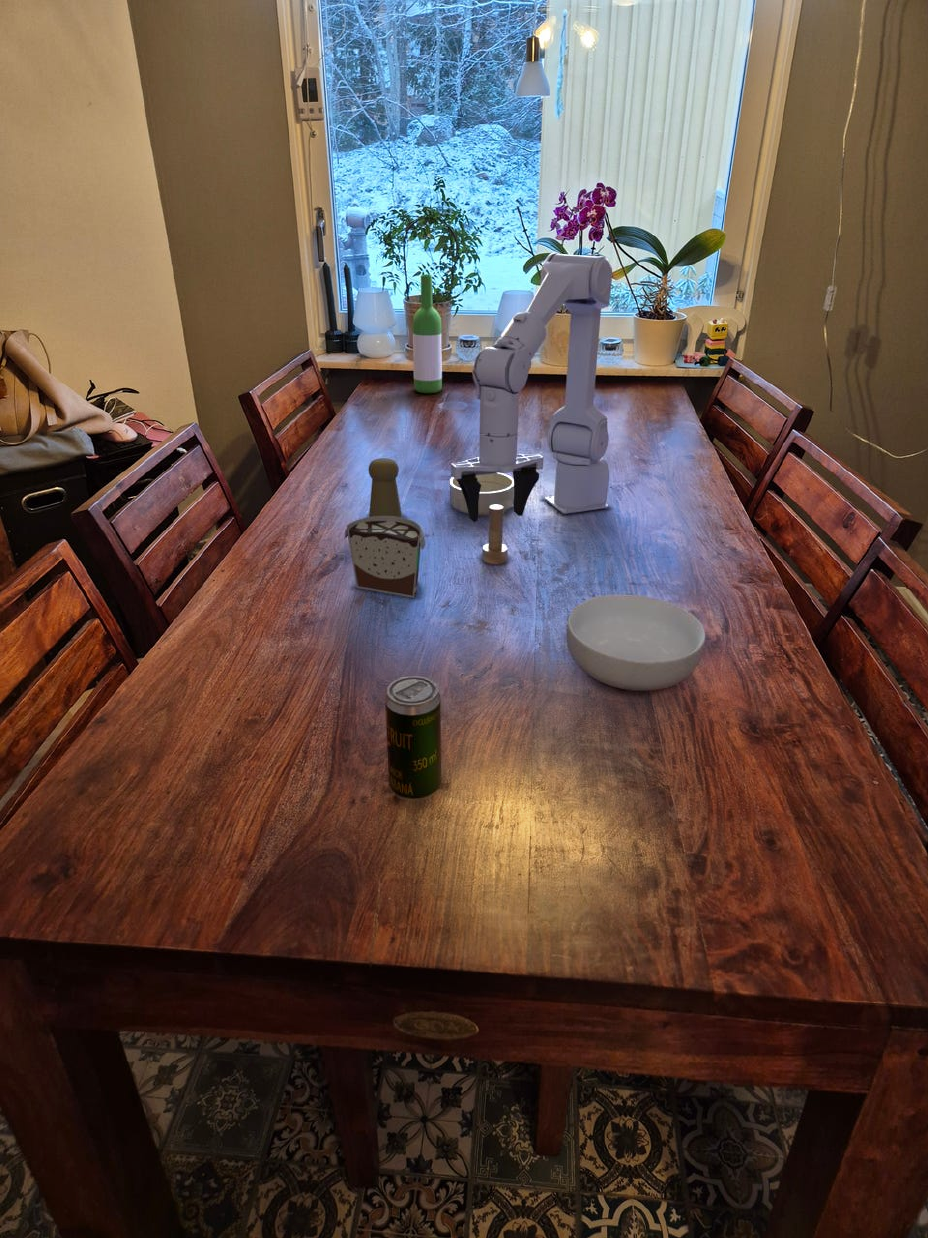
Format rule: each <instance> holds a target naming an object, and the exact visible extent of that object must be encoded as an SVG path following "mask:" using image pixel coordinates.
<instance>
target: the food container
mask: <svg viewBox="0 0 928 1238" xmlns="http://www.w3.org/2000/svg"><path fill="white" fill-rule="evenodd" d="M347 538H348V545H349V551H350V557H351V562H352V569H353V575H354V581H355V586H356V589H362V590H367V591H374V592H378V593H383V594H384V593H385V594H389V595H390V594H391V595H396V596H402V597H408V598H413V599H414V598H415V597H416V596H417V593H418V582H419V572H420V571H419V569H420V561H421V559H420V558H421V551H423V550H424V549H425V547H426V538H425V534H424V531H423V529H422V527H421V526H420V525H419V523H418V522H416V521H414V520H412V519H410V518H405V517H403V516H402V517H396V516H373V517H369V516H367V517H363V518H359V519H356V520H353V521H352V522H349V523H347V524H346V528H345V530H344V539H347Z"/></svg>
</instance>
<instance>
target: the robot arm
mask: <svg viewBox="0 0 928 1238" xmlns="http://www.w3.org/2000/svg"><path fill="white" fill-rule="evenodd" d="M612 282H613V267H612V266H611V264H610V261H609V260H608V258H607V257H606V256H605V255H599V256H591V255H577V254H564V253H563V254H562V253H558V252H551V253H549V254H548V256H547V257H546V258H545V260H544V262H543V264H542V266H541V270H540V286H539V288H538V289H537V291H536V292H535V294H534V296H533V298H532V300H531V302H530V303H529V305H528V307H527V309H526V311H521V312H520V311H519V312H517V313H515V314H514V315H513V317H512V318H511V320H510V321H508V324H507V325H506V327H504V329H503V331H502V332H501V334H500V335H499V336H498V338H497V339H496V341H495V342H494V344H493V345H492V346H488V347H485V348H484V349H482V350H479V352H478V353H477V355H476V356H475V357H476V358H475V360H474V363H473V369H472V370H471V371H472V380H473V383H474V385H475V388H476V397H477V398H476V399H477V400H478V401H479V439H478V440H479V441H478V442H479V444H478V456H477V457H473V458H470V459H466V460H462V461H458V462H451V463H450V476H451V478H452V477H453V478H454V479H456V480H457V482H458V484H459V486H460V488H461V490H462V492H463V495H464V498H465V501H466V504H467V509H468V518H469V520H471V522H473V523H477V522H479V515H478V502H479V494H480V489H481V484H480V483H479V482H478V481H477V478H476V475H484V474H492V473H503V474H507V473H512V478H513V480H514V501H513V506H512V509H513V513H515V514H516V516H518V517H522V516H524V511H525V508H526V505H527V503H528V500H529V497H530V495H531V493H532V491H533V489H534V487H535V486H536V485H537V483H538V481H539V480H540V472H539V470H543V469H544V456H542V455H541V454H540V453H518V436H519V435H518V434H519V432H518V431H519V414H520V413H519V411H520V391H521V390H522V389H523V388H524V387H525V386H526V383H527V380H528V376H529V371H530V369H531V368H532V367H531V366H532V359H533V358H534V356H536V354H537V352H538V351H539V349H540V348H541V346H542V344H543V343H544V341H545V340H546V338H547V328H546V325H547V324H548V323H549V322H550V321H551V320H552V319H553V317H554V316H555V315H556V314H557V312H558V311H559V310H560V309H561V308H562V307H563V306H565V308H566V309H567V311H568V312H569V313H570V314H569V315H570V319H569V320H570V321H569V336H568V352H567V365H566V366H567V367H566V382H565V398H564V405H563V406H561V407H560V408H559V409H557V410H556V411H555V412H554V413H553V414H552V415H551V418H550V419H551V420H550V426H549V429H548V433H547V440H546V441H547V447H548V450H549V451H550V453H552V454H553V455H552V458H553V459H554V460H556V461H555V463H556V464H555V466H556V467H555V476H554V477H555V478H554V492H553V495H552V496H545V498H544V499H545V501H546V502H547V503H549V504H550V505H551V506H552V507H553V508H555V509H556V510H557V511H559V512H560V513H561V514H563V515H567V514H574V513H581V512H588V511H596V510H602V509H608V508H609V505H608V504H607V501H608V493H609V482H610V468H609V464H608V463H609V462H608V461H607V460H606V459H605V457H604V456H605V455H606V452H607V449H608V447H609V441H610V439H609V438H610V437H609V436H610V435H609V431H608V417H607V416H606V415H605V414H604V413H603V412H602V411H601V410H600V409H599V408H598V407H597V406H595V404H594V401H595V391H596V390H595V389H596V388H595V387H596V377H597V363H598V353H599V352H598V351H599V340H600V329H601V328H600V327H601V315H602V310H603V309H606V308H608V307H609V306H610V300H611V293H612Z"/></svg>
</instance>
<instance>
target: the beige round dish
mask: <svg viewBox="0 0 928 1238" xmlns="http://www.w3.org/2000/svg"><path fill="white" fill-rule="evenodd" d="M476 478H477V481H478V482H479V483H480V484H481V489H480V494H479V502H478V516H489V507H490V506H491V505H495V504H497V505H502V506H503V513H504V512H507V511H508V510H509V509H510V508H513V501H514V480H513V477H512V476H510V475H508V474H506V473H492V474H484V475H476ZM449 504H450V505H451V506H452V507H453V508H454V509H455V510H457V511H459V512H462V513H463V514H468V509H467V504H466V501H465V498H464V495H463V492H462V490H461V488H460V486H459V484H458V482H457V480H456V479H454V478H453V477H452V476H451V478H450V479H449ZM468 515H469V514H468Z"/></svg>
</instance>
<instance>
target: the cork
mask: <svg viewBox="0 0 928 1238" xmlns="http://www.w3.org/2000/svg"><path fill="white" fill-rule="evenodd" d="M399 472H400V471H399V465H398V463H397V461H396V460H395V459H392V458H388V457H381V458H375V459H373V460H372V461H370V463H369V465H368V474H369V477H370V479H371V489H370V502H369V512H368V517H373V516H396V517H402V518H403V514H402V507H401V501H400V495H399V490H398V484H397V477H398V475H399Z"/></svg>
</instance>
